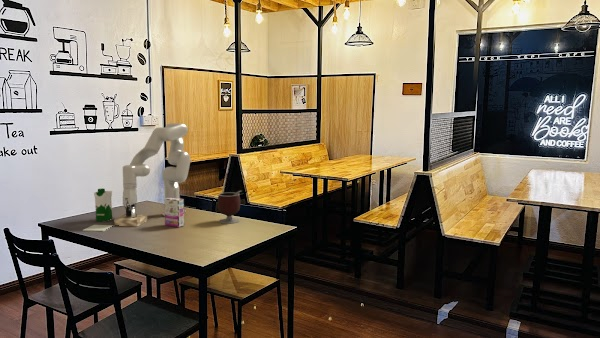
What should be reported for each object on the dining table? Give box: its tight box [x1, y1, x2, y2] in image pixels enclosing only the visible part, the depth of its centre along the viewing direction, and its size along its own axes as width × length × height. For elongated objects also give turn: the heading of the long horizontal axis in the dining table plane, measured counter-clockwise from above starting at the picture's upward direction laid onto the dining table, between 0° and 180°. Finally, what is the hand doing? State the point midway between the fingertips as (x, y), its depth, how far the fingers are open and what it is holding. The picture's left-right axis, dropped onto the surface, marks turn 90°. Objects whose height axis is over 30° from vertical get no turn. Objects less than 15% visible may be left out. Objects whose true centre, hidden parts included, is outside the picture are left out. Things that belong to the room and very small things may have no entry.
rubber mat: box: [82, 224, 115, 232], centre depth 259 cm, size 12×12×1 cm
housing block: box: [113, 213, 148, 227], centre depth 272 cm, size 14×14×4 cm
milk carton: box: [93, 187, 114, 222], centre depth 279 cm, size 9×9×20 cm
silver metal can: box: [127, 206, 135, 218], centre depth 272 cm, size 5×5×10 cm
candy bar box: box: [163, 197, 185, 228], centre depth 266 cm, size 11×5×16 cm, turn 62°
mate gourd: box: [217, 190, 242, 225], centre depth 278 cm, size 16×14×20 cm
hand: (131, 215), depth 272 cm, fingers closed on silver metal can, 5 cm apart
